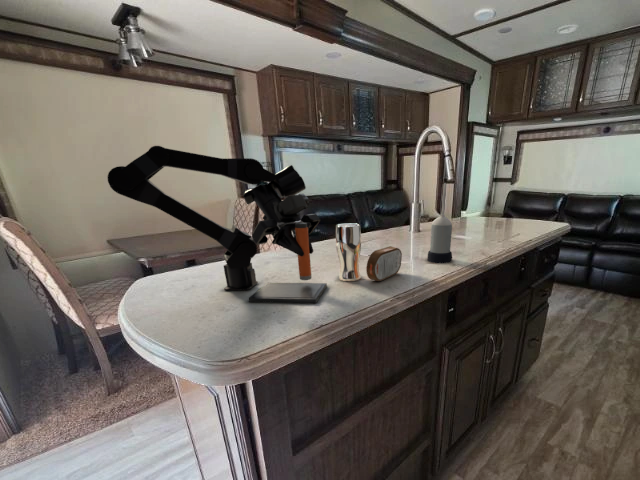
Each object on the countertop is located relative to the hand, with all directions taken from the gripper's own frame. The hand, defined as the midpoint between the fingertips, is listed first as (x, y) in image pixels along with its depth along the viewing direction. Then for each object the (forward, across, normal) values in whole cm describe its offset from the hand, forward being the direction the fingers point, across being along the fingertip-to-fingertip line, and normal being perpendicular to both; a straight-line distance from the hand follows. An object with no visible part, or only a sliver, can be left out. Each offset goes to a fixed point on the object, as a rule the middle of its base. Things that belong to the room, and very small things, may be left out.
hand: (307, 254), depth 78 cm
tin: (+15, +19, -2) cm, 24 cm away
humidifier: (+19, +46, -6) cm, 50 cm away
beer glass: (+9, +13, +5) cm, 17 cm away
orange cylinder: (+4, 0, +6) cm, 7 cm away
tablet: (+5, -5, +8) cm, 11 cm away
